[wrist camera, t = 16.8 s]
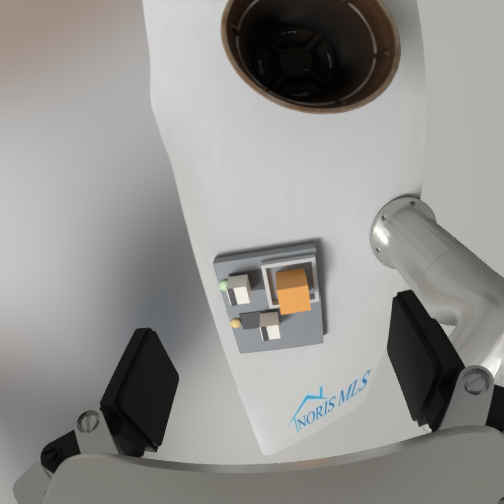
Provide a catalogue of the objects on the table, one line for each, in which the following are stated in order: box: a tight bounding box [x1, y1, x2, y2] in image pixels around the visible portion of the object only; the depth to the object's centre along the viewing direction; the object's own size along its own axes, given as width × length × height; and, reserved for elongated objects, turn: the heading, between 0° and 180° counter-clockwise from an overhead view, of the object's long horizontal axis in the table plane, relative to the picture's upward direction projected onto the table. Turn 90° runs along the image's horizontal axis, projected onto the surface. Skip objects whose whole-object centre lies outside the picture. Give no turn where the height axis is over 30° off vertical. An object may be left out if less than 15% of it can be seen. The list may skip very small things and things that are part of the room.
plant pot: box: [221, 0, 401, 114], centre depth 26 cm, size 16×16×16 cm
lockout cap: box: [276, 268, 311, 315], centre depth 44 cm, size 4×4×5 cm
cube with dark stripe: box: [259, 312, 281, 341], centre depth 47 cm, size 3×3×4 cm
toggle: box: [226, 274, 251, 306], centre depth 44 cm, size 3×3×4 cm
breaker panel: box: [213, 243, 324, 353], centre depth 49 cm, size 20×16×3 cm
